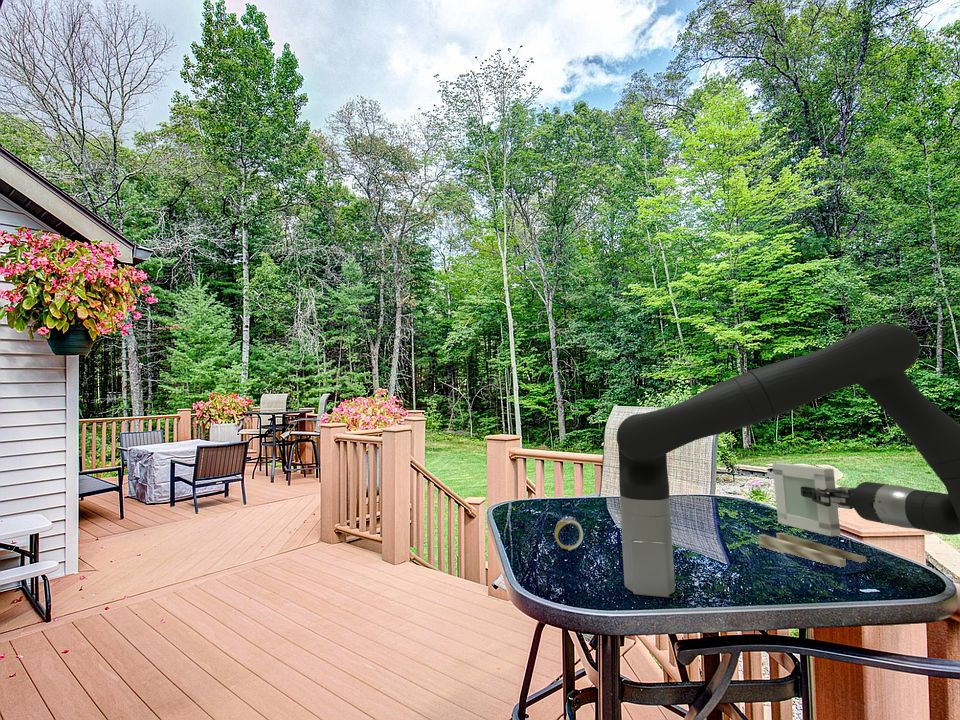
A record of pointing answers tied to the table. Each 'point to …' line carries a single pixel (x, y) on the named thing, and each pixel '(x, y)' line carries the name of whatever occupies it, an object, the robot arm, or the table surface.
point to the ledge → (808, 549)
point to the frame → (804, 498)
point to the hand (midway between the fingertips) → (807, 490)
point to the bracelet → (560, 525)
